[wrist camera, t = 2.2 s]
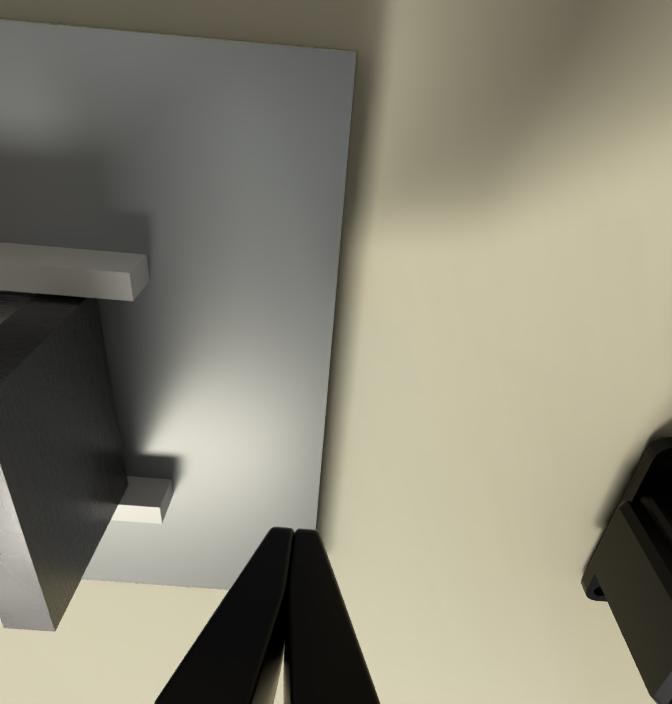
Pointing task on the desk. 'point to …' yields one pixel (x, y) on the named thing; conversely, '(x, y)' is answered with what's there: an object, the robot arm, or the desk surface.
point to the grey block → (53, 453)
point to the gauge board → (186, 268)
